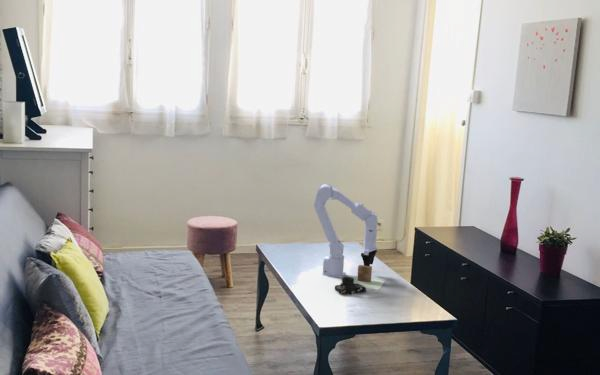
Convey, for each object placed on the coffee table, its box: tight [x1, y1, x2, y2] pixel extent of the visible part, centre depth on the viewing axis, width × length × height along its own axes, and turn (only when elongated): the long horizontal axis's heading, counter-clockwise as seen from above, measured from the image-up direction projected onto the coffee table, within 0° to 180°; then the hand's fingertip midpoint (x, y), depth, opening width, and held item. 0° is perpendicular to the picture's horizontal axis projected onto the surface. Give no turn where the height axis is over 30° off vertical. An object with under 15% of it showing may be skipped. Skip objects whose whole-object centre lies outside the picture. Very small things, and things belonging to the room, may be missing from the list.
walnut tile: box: [357, 264, 373, 282], centre depth 294 cm, size 6×2×7 cm, turn 71°
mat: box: [339, 275, 386, 291], centre depth 292 cm, size 18×14×1 cm
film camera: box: [334, 276, 367, 296], centre depth 280 cm, size 13×8×10 cm
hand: (368, 266), depth 301 cm, fingers open, 7 cm apart
